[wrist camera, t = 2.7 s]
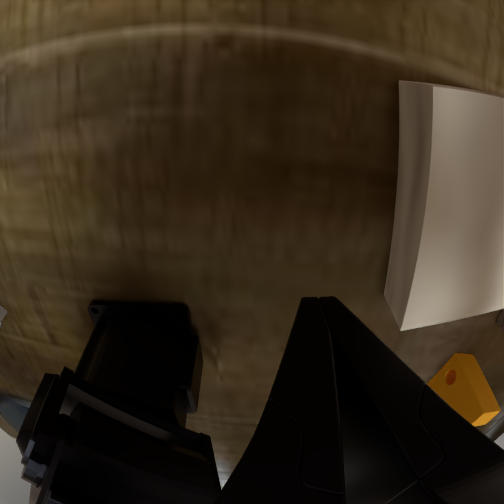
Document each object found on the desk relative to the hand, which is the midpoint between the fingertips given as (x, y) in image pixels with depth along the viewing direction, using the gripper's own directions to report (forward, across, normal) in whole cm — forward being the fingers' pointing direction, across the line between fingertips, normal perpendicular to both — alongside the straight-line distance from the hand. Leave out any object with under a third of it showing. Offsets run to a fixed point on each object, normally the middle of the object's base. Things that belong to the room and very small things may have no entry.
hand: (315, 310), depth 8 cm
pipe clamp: (+8, -16, +19) cm, 26 cm away
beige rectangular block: (+8, -10, 0) cm, 13 cm away
